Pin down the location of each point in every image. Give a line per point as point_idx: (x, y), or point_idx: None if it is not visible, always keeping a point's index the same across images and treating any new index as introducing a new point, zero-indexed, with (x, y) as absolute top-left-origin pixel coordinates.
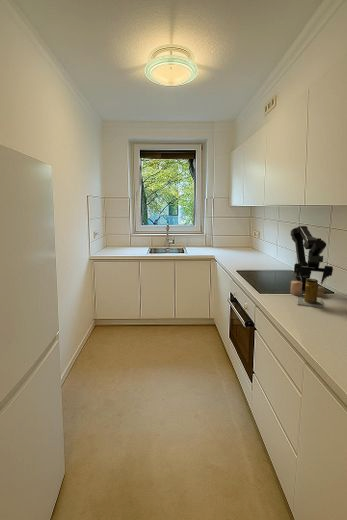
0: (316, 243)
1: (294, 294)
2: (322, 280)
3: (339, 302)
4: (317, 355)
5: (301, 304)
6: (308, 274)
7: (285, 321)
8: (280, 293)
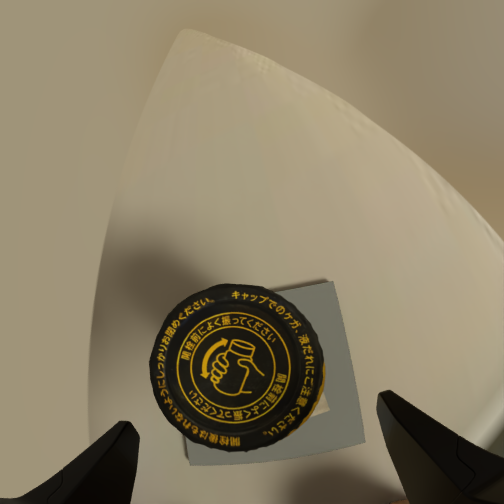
0: None
1: (401, 500)
2: (101, 443)
3: None
4: (206, 39)
5: (309, 287)
6: None
7: (301, 88)
8: None
